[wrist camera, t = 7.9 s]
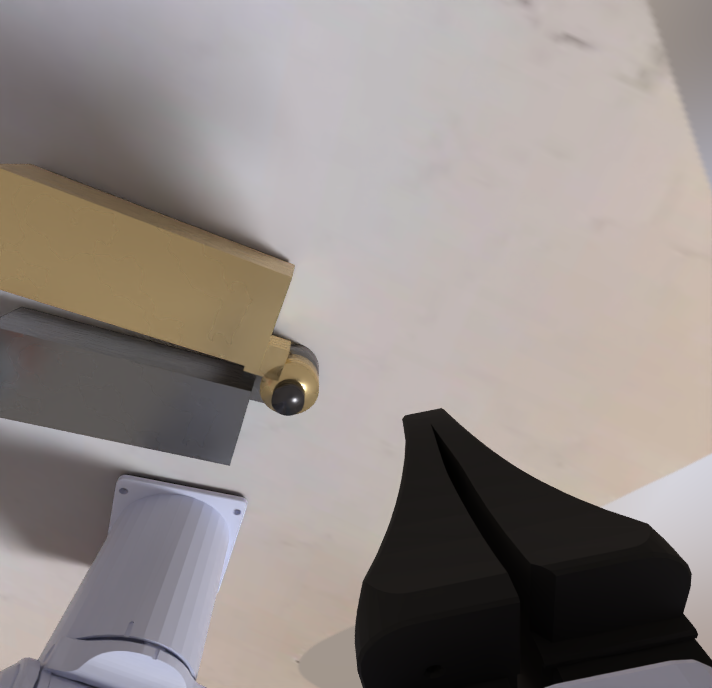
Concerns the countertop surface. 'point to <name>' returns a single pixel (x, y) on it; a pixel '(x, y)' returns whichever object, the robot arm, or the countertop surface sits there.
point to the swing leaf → (146, 274)
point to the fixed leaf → (128, 387)
